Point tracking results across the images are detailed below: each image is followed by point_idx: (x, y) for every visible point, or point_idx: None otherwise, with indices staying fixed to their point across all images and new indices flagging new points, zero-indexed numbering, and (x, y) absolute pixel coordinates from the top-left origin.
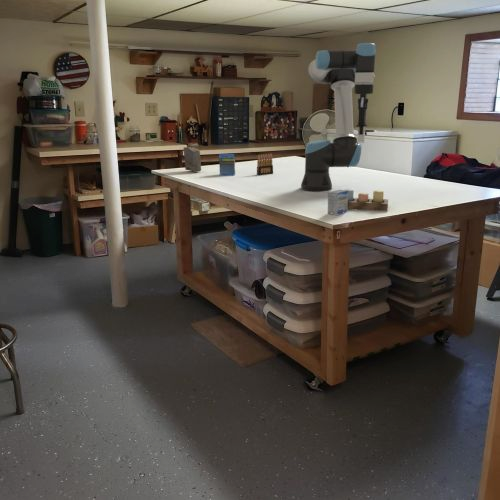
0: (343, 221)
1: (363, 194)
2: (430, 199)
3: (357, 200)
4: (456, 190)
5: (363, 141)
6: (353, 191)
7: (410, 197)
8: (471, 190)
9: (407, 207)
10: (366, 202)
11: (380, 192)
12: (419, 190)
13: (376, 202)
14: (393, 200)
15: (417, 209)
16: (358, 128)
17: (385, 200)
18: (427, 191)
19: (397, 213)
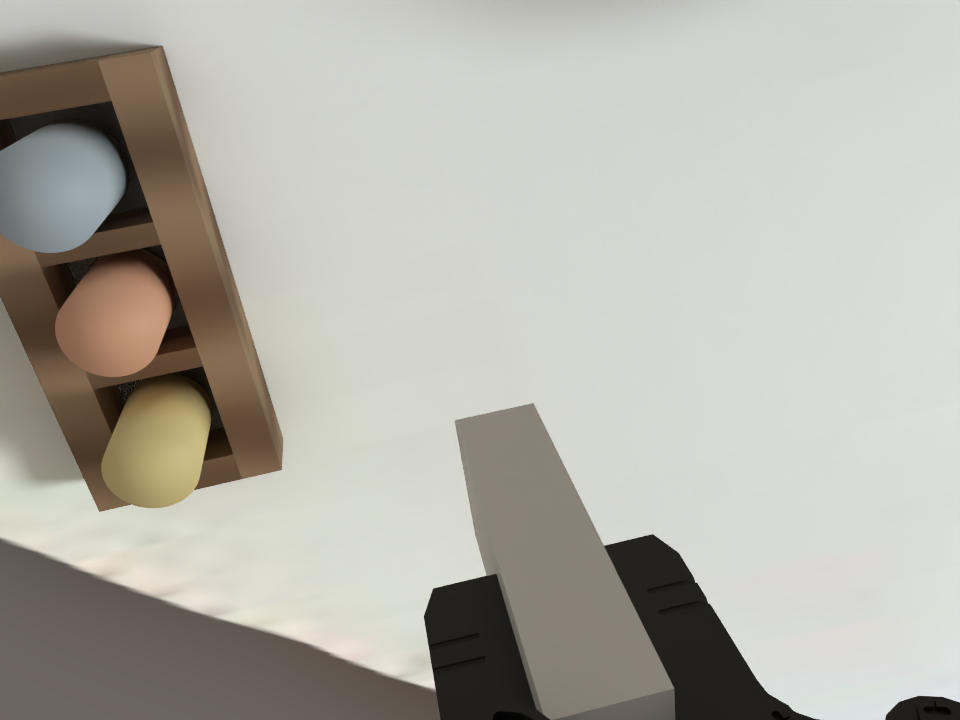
0: None
1: (86, 340)
2: None
3: (164, 242)
4: (941, 640)
5: (479, 541)
6: (57, 249)
7: (668, 485)
8: (947, 694)
9: (317, 550)
10: (48, 359)
11: (116, 493)
12: (925, 475)
13: (100, 428)
14: None
15: (284, 610)
16: (529, 678)
17: (225, 463)
18: (895, 523)
19: (81, 548)
